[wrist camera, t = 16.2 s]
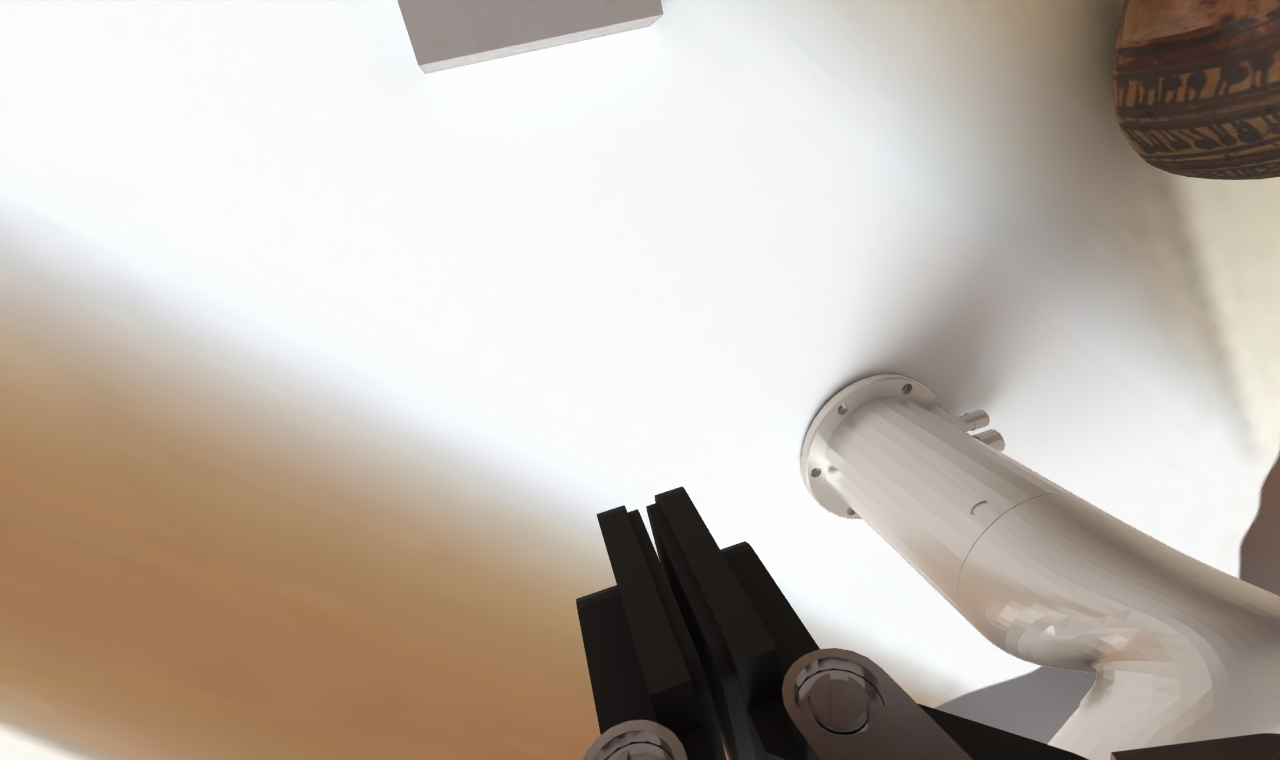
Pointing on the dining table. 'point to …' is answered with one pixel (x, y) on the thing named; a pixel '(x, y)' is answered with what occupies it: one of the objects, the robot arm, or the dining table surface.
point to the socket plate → (512, 26)
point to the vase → (1201, 86)
